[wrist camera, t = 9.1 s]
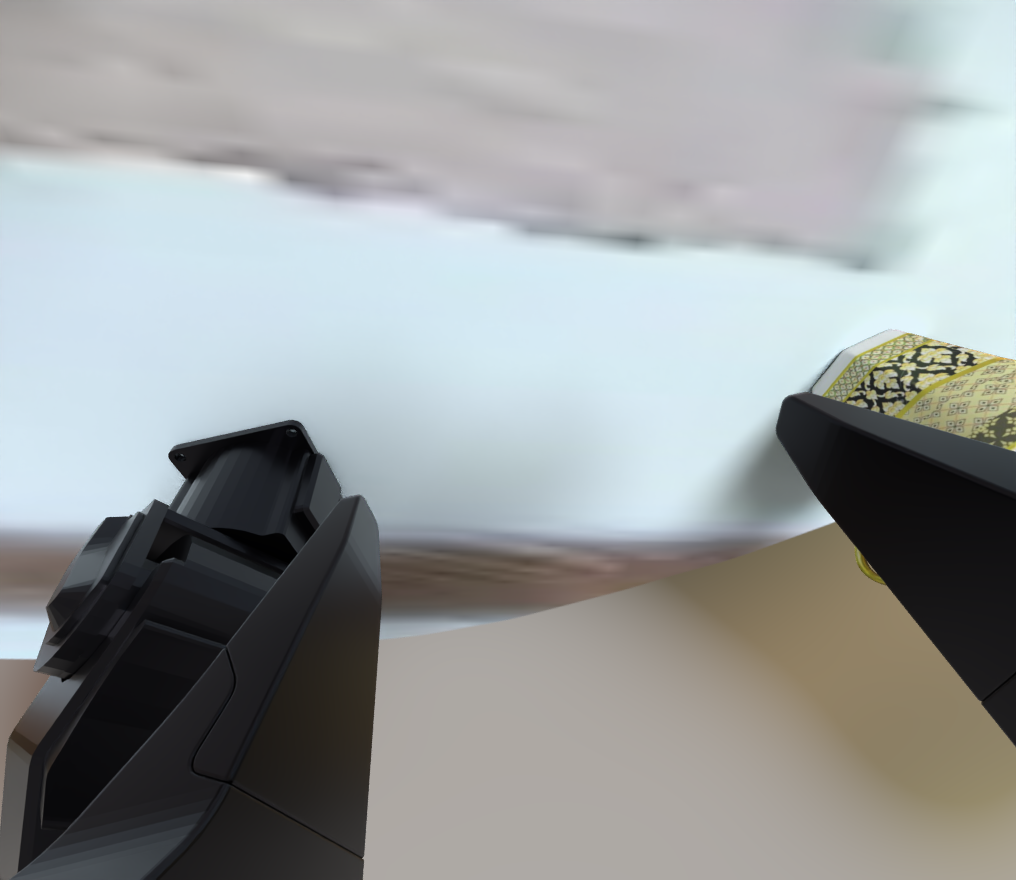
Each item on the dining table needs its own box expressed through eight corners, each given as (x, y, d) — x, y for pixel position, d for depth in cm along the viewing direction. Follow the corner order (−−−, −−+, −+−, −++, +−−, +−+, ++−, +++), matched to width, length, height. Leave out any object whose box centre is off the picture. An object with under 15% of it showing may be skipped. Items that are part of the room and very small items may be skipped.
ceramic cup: (869, 275, 23) (1109, 368, 15) (984, 327, 26) (1232, 425, 18) (720, 468, 30) (830, 601, 22) (826, 490, 33) (956, 613, 25)
